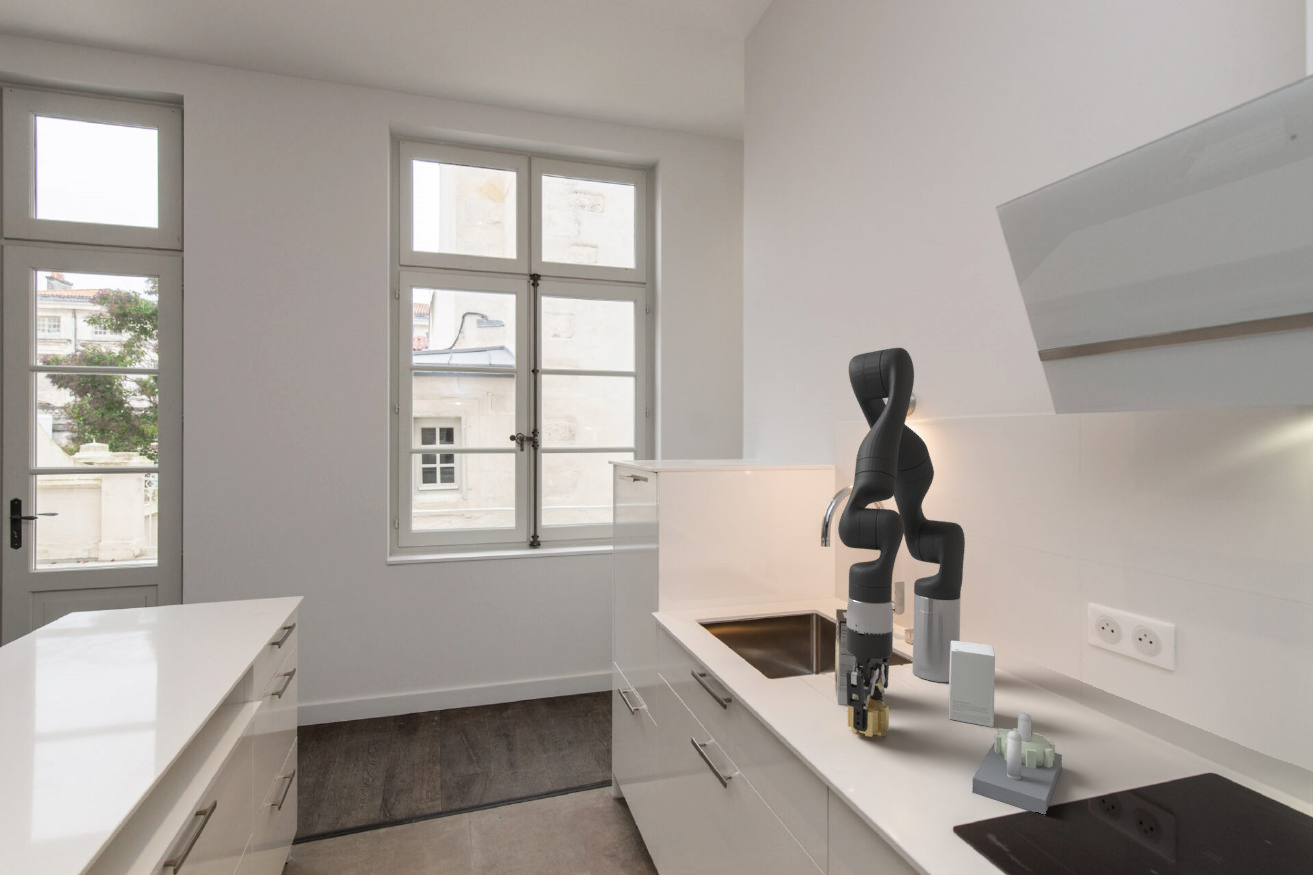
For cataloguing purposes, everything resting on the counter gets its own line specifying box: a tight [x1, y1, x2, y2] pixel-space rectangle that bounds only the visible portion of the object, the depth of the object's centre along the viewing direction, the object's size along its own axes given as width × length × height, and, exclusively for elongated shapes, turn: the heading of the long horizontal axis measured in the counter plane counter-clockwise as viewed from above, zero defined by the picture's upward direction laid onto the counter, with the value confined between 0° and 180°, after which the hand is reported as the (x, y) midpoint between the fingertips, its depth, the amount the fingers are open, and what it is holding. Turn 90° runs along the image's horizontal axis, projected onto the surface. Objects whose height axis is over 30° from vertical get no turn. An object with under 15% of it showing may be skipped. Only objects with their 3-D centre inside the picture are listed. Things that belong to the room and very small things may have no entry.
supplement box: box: [948, 640, 996, 728], centre depth 119 cm, size 7×7×13 cm
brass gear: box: [847, 698, 890, 738], centre depth 111 cm, size 6×6×4 cm
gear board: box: [971, 712, 1063, 815], centre depth 96 cm, size 17×9×8 cm, turn 142°
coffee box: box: [834, 608, 868, 706], centre depth 127 cm, size 9×6×16 cm
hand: (867, 722), depth 111 cm, fingers closed on brass gear, 6 cm apart
